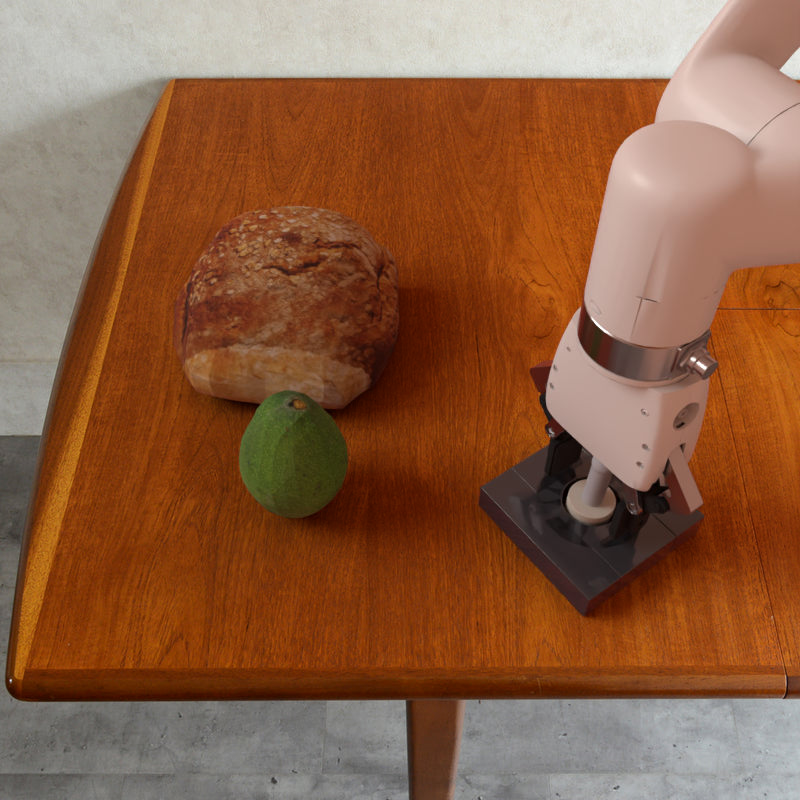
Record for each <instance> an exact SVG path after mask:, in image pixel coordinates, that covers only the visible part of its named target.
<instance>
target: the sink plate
mask: <svg viewBox="0 0 800 800" xmlns="http://www.w3.org/2000/svg"><path fill="white" fill-rule="evenodd" d="M548 447H549V443H548V444H547V445H545V446H544V447H542V448H540V449H538V450H537V451H536V452H534V453H532V454H530V455H529V456H528V457H526V458H524V459H523V460H521V461H519V462H518V463H517V464H514V465H513V466H512V467H510V468H508V469H507V470H506V471H504V472H502V473H500V474H499V475H497V476H496V477H494V478H493V479H491V480H489V481H487V482H486V483H484V484H483V485H481V486H480V488H479V494H478V495H479V496H478V506H479V508H480V509H482V511H483V512H484V513H485V514H486V515H487V516H488V517H489V518H490V519H491V520H492V521H493V522H494V524H496V526H498V528H500V530H501V531H502V532H503V533H504V534H505V535H506V536H507V537H508V539H510V540H511V541H512V543H513V544H515V546H516V547H517V548H518V549H519V550H520V551H521V553H523V554H524V555H525V557H526V558H527V559H528V560H529V561H530V562H532V564H533V565H534V566H535V567H536V568H537V569H538V570H539V571H540V572H541V573H542V574H543V575H544V576H545V577H546V578H547V580H548V581H549V582H550V583H551V584H552V585H553V586H554V587H555V588H556V589H557V590H558V592H560V593H561V595H562V596H563V597H564V598H565V599H566V600H567V601H568V603H570V604H571V605H572V606H573V607H574V608H575V609H576V610H577V612H578V613H579V614H580V615H581V616H582V617H583V618H584V617H586V616H588V615H590V613H591V612H593V611H594V610H595V609H597V608H598V607H600V606H601V605H602V604H604V603H605V602H607V601H608V600H609V599H610V598H612V597H614V596H615V594H617V593H619V592H620V591H622V590H623V589H624V588H626V586H628V585H629V584H630V583H632V582H633V581H635V580H636V579H637V578H639V577H640V576H642V574H644V573H646V572H647V571H648V570H650V569H651V568H652V567H653V566H655V565H656V564H658V563H659V562H660V561H662V560H663V559H664V558H666V557H667V556H668V555H669V554H671V553H672V552H674V551H675V550H676V549H678V548H679V547H681V546H682V545H684V544H685V543H686V542H688V541H689V540H690V539H691V538H693V537H694V536H696V535H697V534H698V531H699V530H700V528H701V525H702V524H703V521H704V519H705V514H704V513H703V512H702V511H701V510H699V508H698V509H697V510H696V511H694V512H693V513H692V514H690V515H680V514H672V512H666V513H664V514H657V513H650V515H649V518H648V521H647V523H646V524H645V525H644V526H643V527H642V528H641V529H640V530H639V531H637V532H636V533H634V534H631V533H630V532H629V531H627V532H626V533H624V534H623V535H621V536H620V537H618V538H617V539H615V540H614V539H613V538H612V537H611V536H610V535H609V533H610V532H609V528H610V524H611V521H610V522H609V524H606V525H602V526H590V525H584V524H582V523H580V522H578V521H576V520H574V519H573V518H572V517H571V516H570V515H569V514H568V513H567V512H566V511H565V508H564V506H565V505H564V504H563V503H565V502H566V499H567V496H568V493H569V490H570V488H571V487H572V485H573V484H575V483H576V482H578V481H580V480H585V479H587V478H588V475H589V472H590V469H591V466H592V458H593V455H592V454H591V453H590V452H589V451H588V450H587V449H586V448H585V447H583V448H582V452H581V455H580V459H579V460H578V461H577V462H575V463H574V464H572V465H571V466H569V467H567V468H566V469H564V470H563V471H561V472H560V473H558V474H557V475H555V476H553V477H552V476H548V475H547V474H546V473H545V472H544V470H545V465H546V460H547V455H548ZM665 486H668V485H667V483H666V480H665ZM608 487H609V488H610V489H611V490H612V492H613V493H614V496H615V499H616V506H617V504H618V503H619V502H621V501H622V500H624V499H625V496H624V489H623V482H622V481H621V480H620V479H619V478H618V477H617V476H615V475H614V474H612V477H611V480H610V483H609V485H608ZM616 506H615V509H616ZM615 509H614V512H615ZM614 512H613V514H612V515H614Z"/></svg>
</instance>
